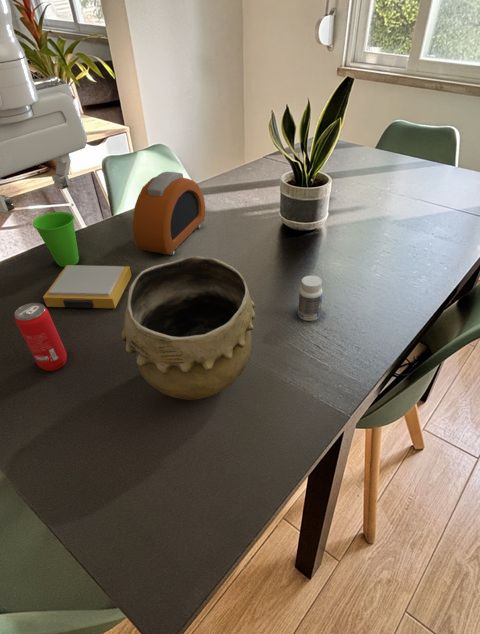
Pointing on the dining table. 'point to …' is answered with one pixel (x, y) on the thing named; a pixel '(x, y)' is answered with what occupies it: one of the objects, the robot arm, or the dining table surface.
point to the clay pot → (189, 326)
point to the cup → (59, 236)
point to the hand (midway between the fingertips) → (36, 198)
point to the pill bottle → (310, 298)
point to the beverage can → (41, 336)
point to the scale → (88, 286)
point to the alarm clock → (167, 212)
